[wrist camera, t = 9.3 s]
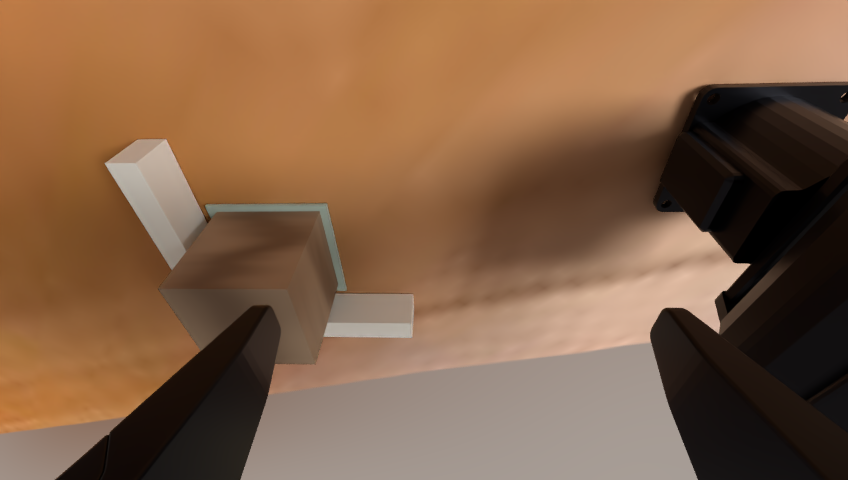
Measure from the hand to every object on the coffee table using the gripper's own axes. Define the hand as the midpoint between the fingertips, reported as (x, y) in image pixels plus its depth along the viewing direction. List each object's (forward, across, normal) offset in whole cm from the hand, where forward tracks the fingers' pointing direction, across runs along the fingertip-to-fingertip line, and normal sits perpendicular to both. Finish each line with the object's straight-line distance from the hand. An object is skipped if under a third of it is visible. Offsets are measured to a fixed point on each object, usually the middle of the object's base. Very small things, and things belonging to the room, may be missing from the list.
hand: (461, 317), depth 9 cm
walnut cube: (+12, +10, +8) cm, 18 cm away
